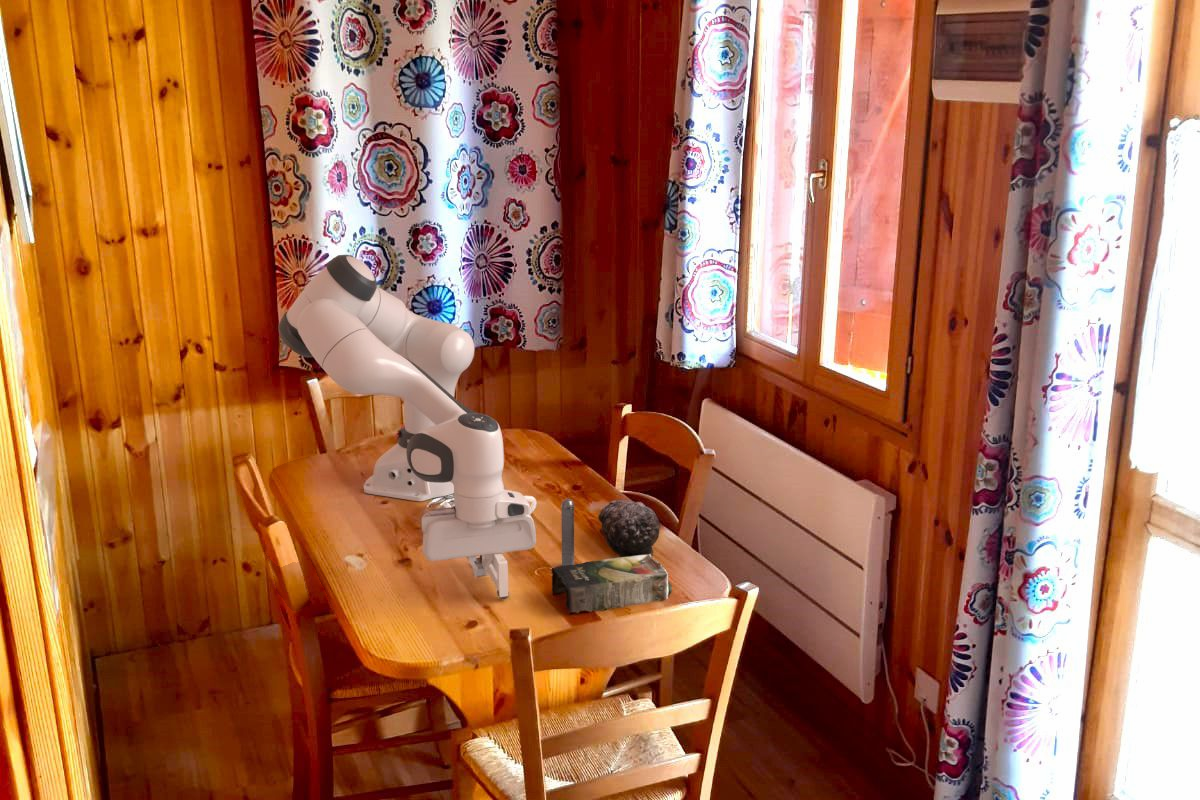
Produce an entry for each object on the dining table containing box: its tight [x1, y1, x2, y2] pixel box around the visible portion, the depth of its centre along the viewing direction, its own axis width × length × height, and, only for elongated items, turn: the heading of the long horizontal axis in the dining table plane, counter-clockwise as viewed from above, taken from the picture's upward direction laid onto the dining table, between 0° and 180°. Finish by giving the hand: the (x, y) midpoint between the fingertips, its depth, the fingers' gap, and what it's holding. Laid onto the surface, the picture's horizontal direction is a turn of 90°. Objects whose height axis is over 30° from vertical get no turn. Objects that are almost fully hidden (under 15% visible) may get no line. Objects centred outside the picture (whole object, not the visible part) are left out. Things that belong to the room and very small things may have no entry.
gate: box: [482, 553, 510, 600], centre depth 199 cm, size 14×2×7 cm, turn 19°
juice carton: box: [551, 554, 672, 615], centre depth 195 cm, size 20×10×6 cm, turn 110°
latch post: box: [560, 498, 575, 566], centre depth 207 cm, size 2×2×14 cm
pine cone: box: [597, 499, 661, 558], centre depth 217 cm, size 10×18×10 cm, turn 26°
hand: (480, 575), depth 197 cm, fingers closed
